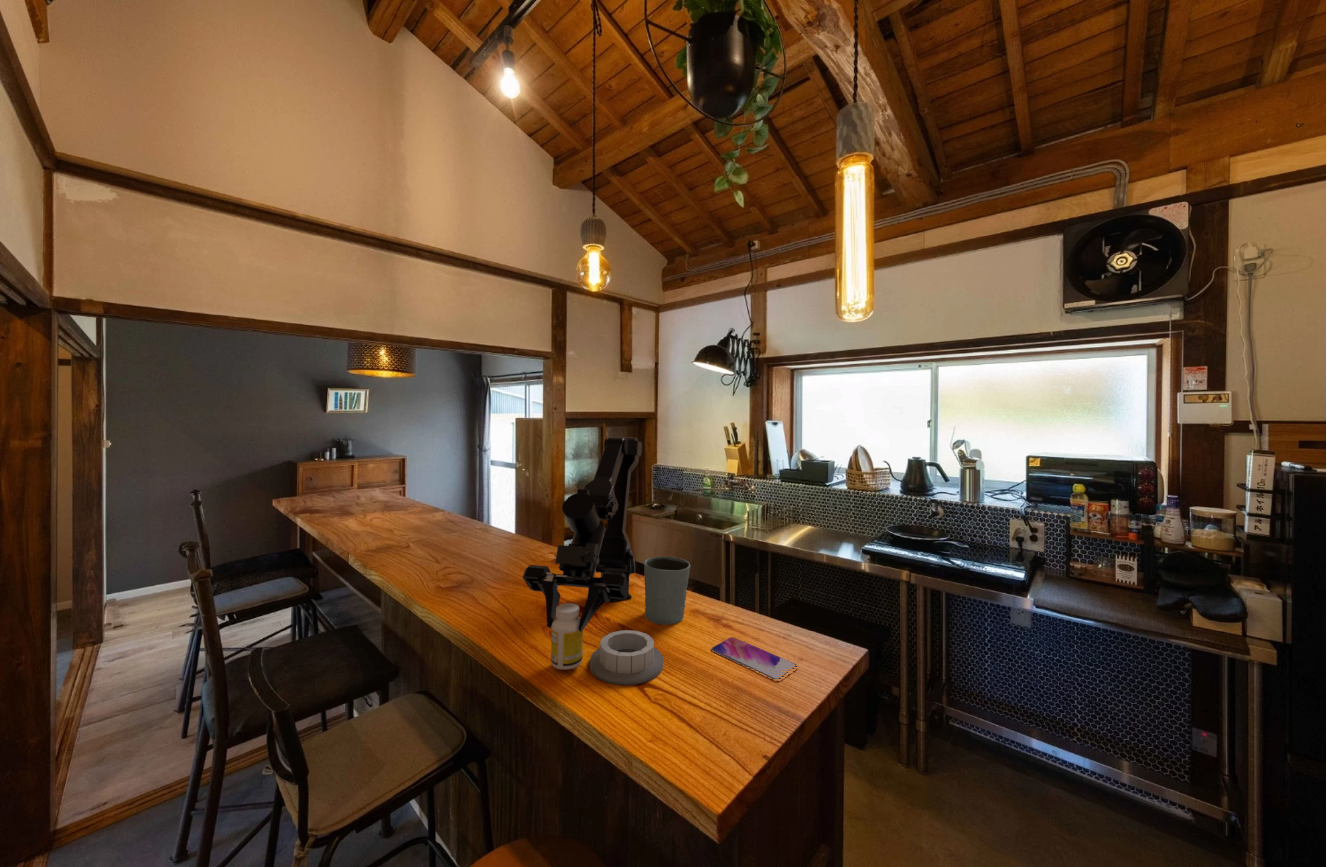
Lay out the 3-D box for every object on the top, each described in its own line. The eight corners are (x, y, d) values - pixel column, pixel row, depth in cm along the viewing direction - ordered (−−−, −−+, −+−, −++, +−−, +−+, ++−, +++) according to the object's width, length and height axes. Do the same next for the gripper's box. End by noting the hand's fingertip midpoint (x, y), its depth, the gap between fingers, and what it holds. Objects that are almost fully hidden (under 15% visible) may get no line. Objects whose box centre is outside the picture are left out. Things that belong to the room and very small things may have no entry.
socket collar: (643, 641, 94) (644, 621, 94) (676, 674, 83) (677, 651, 83) (579, 655, 88) (580, 634, 88) (605, 693, 77) (606, 668, 77)
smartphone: (778, 681, 81) (709, 648, 92) (778, 686, 81) (709, 653, 92) (799, 665, 86) (732, 635, 97) (799, 669, 86) (731, 640, 97)
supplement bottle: (587, 657, 86) (588, 603, 85) (573, 673, 81) (574, 616, 80) (560, 652, 87) (561, 599, 87) (544, 667, 82) (545, 611, 82)
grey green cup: (635, 611, 108) (636, 558, 108) (674, 604, 113) (676, 553, 113) (655, 630, 99) (656, 572, 99) (697, 621, 104) (698, 566, 104)
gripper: (527, 521, 88) (497, 605, 78) (626, 528, 85) (609, 616, 75) (544, 551, 96) (518, 630, 86) (635, 558, 93) (620, 641, 83)
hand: (564, 629), depth 82 cm, fingers closed on supplement bottle, 5 cm apart
